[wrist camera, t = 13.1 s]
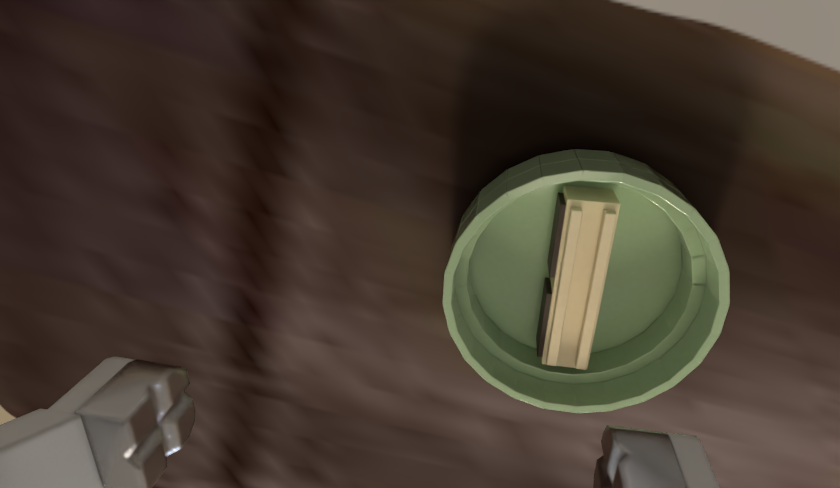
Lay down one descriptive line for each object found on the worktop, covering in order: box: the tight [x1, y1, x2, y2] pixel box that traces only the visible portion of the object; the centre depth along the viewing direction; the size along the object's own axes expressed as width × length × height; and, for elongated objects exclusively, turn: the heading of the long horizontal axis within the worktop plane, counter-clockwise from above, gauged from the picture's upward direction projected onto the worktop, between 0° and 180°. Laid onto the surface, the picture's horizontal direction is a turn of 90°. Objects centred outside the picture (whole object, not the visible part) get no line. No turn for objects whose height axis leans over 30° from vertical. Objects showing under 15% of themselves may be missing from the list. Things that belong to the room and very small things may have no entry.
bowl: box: [442, 149, 730, 413], centre depth 36 cm, size 17×17×6 cm
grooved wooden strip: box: [536, 186, 621, 370], centre depth 36 cm, size 12×4×4 cm, turn 178°
